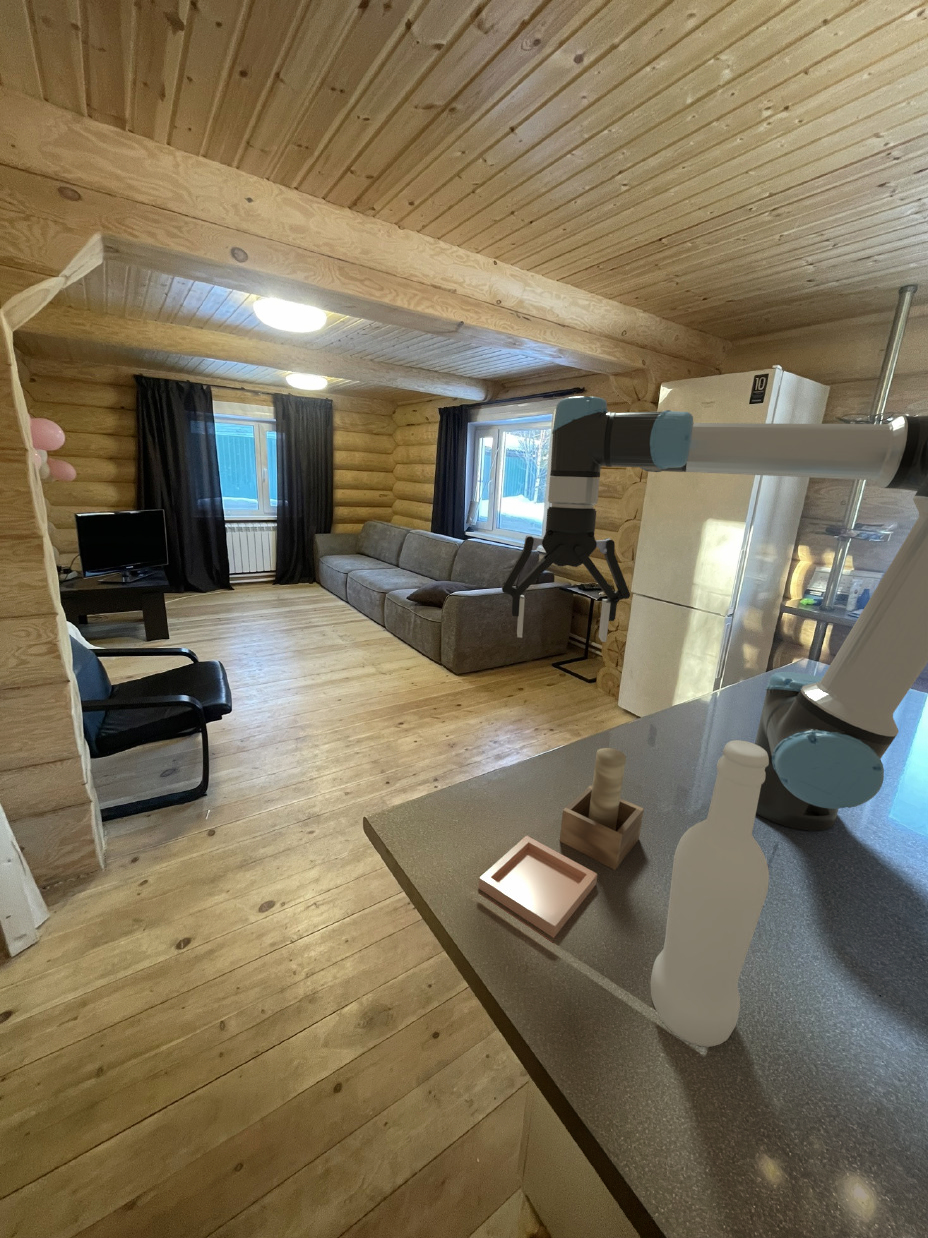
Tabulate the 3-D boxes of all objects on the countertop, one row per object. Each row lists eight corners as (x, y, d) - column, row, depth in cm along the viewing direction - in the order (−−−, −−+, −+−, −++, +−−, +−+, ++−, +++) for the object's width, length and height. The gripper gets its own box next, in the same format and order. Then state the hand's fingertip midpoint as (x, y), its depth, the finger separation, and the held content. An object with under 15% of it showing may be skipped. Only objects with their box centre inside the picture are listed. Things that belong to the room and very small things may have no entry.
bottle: (635, 975, 56) (678, 724, 48) (706, 972, 57) (760, 725, 49) (670, 1055, 48) (728, 772, 40) (751, 1050, 49) (824, 771, 41)
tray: (595, 889, 68) (597, 874, 67) (553, 943, 59) (555, 926, 59) (525, 849, 74) (526, 835, 74) (478, 893, 66) (479, 877, 65)
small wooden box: (638, 843, 77) (643, 808, 75) (614, 874, 70) (619, 837, 69) (585, 818, 82) (589, 785, 80) (559, 845, 75) (563, 810, 74)
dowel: (618, 839, 76) (630, 754, 73) (606, 853, 73) (618, 765, 70) (593, 827, 79) (604, 745, 75) (581, 840, 76) (591, 755, 72)
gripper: (647, 508, 82) (631, 634, 88) (491, 502, 84) (485, 627, 89) (661, 510, 75) (643, 648, 81) (491, 503, 76) (484, 639, 82)
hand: (560, 637), depth 85 cm, fingers open, 13 cm apart
